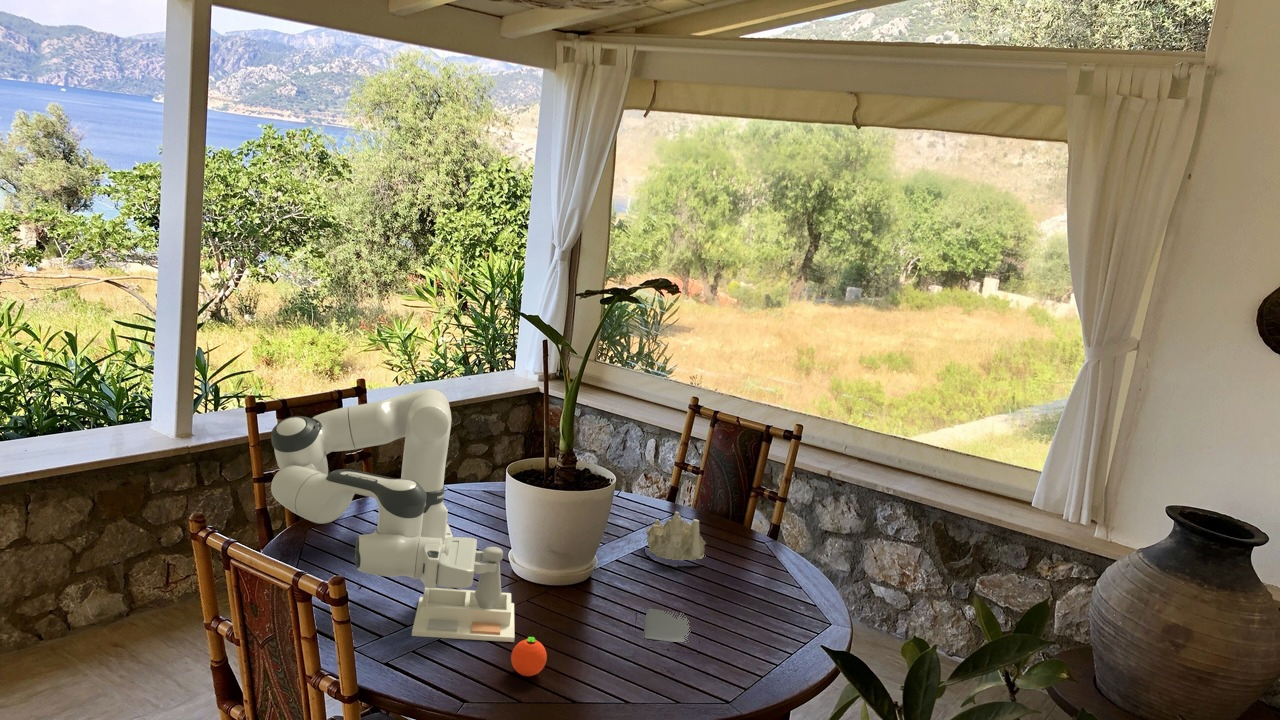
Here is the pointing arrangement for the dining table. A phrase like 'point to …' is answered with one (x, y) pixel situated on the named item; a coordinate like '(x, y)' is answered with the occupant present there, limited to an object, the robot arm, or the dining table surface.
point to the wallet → (665, 626)
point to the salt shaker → (490, 580)
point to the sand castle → (676, 539)
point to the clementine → (529, 657)
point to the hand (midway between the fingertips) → (496, 563)
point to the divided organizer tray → (463, 616)
